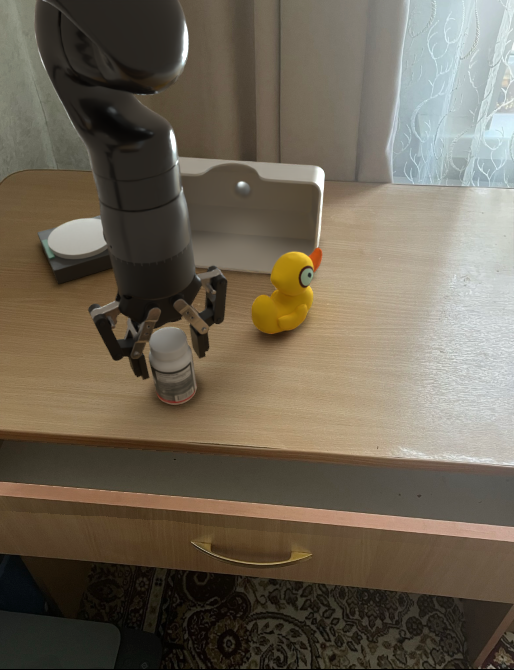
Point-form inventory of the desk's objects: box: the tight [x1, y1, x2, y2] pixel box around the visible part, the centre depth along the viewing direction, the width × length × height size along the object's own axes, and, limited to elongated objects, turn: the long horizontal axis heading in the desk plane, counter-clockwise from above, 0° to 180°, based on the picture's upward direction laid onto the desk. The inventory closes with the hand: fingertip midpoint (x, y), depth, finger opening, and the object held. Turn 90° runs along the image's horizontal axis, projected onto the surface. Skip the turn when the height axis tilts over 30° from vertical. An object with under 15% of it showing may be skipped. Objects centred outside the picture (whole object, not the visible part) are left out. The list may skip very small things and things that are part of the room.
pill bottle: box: [148, 326, 198, 406], centre depth 61 cm, size 5×5×8 cm
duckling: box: [250, 247, 323, 335], centre depth 69 cm, size 11×5×10 cm, turn 133°
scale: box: [36, 215, 113, 285], centre depth 83 cm, size 11×11×3 cm
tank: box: [179, 156, 325, 275], centre depth 82 cm, size 25×16×12 cm, turn 80°
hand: (172, 363), depth 61 cm, fingers open, 6 cm apart
